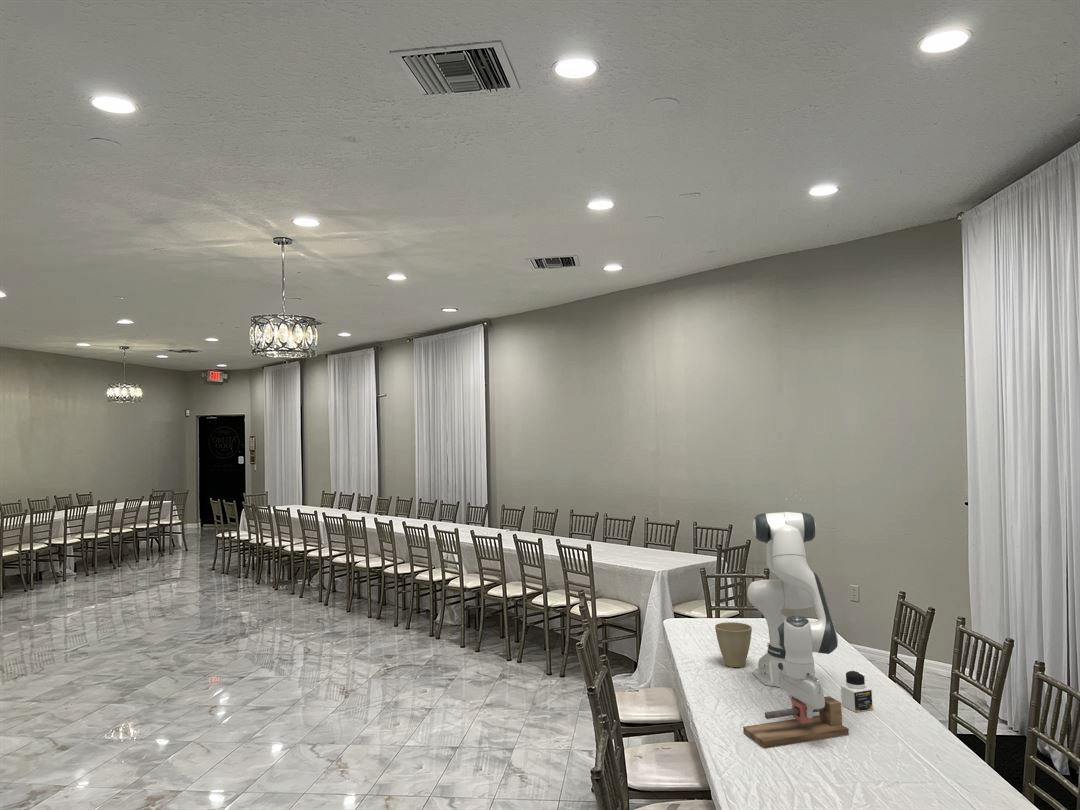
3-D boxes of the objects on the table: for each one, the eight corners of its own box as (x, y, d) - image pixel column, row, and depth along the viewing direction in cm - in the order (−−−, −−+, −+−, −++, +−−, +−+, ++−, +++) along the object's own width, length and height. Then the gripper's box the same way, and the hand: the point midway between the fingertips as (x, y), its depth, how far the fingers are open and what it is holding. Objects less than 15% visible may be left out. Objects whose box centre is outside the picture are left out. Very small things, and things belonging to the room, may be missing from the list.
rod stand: (743, 733, 230) (742, 704, 230) (825, 720, 237) (823, 693, 237) (763, 748, 218) (762, 718, 218) (848, 734, 225) (847, 705, 226)
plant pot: (758, 670, 289) (756, 630, 289) (721, 671, 289) (719, 631, 290) (748, 659, 304) (746, 621, 304) (713, 660, 304) (711, 622, 305)
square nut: (792, 716, 231) (791, 699, 231) (802, 715, 231) (801, 697, 232) (802, 723, 225) (801, 705, 225) (812, 721, 226) (811, 703, 226)
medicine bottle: (855, 712, 242) (853, 677, 243) (841, 705, 249) (839, 670, 250) (873, 709, 244) (871, 674, 245) (858, 702, 251) (856, 668, 252)
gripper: (828, 678, 220) (831, 724, 219) (790, 659, 240) (792, 701, 239) (810, 680, 218) (813, 726, 218) (773, 661, 238) (775, 703, 237)
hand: (802, 713), depth 228 cm, fingers closed on square nut, 6 cm apart
